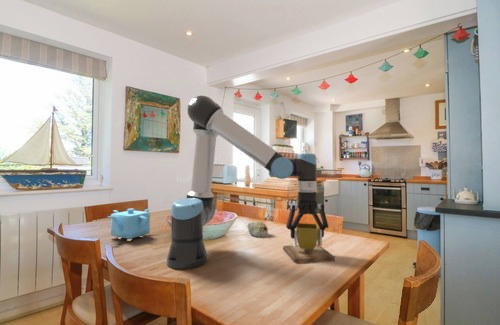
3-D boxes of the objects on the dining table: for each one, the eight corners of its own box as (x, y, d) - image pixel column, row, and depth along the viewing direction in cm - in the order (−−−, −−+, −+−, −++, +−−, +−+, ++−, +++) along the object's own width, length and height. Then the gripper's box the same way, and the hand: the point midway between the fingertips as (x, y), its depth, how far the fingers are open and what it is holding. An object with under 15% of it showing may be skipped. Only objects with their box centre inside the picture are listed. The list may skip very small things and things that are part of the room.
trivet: (294, 263, 100) (294, 258, 100) (283, 249, 116) (283, 245, 116) (335, 260, 102) (334, 256, 102) (318, 247, 118) (318, 243, 118)
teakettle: (148, 241, 129) (148, 210, 129) (105, 244, 123) (105, 213, 123) (150, 231, 147) (150, 205, 147) (113, 234, 141) (113, 206, 141)
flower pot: (318, 252, 104) (319, 228, 104) (295, 250, 105) (296, 227, 105) (317, 245, 112) (317, 224, 112) (296, 243, 114) (296, 222, 114)
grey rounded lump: (271, 236, 134) (262, 219, 134) (254, 245, 134) (245, 228, 134) (269, 230, 145) (260, 214, 144) (253, 238, 144) (244, 222, 144)
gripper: (283, 192, 104) (283, 249, 103) (337, 191, 107) (337, 247, 107) (278, 190, 111) (278, 244, 111) (329, 189, 114) (329, 241, 114)
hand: (307, 245), depth 109 cm, fingers closed on flower pot, 10 cm apart
